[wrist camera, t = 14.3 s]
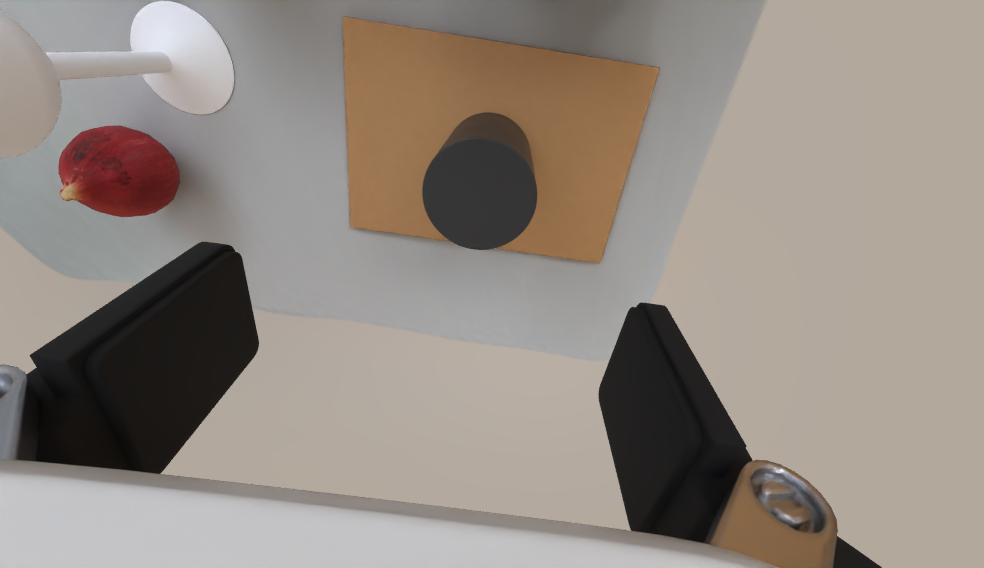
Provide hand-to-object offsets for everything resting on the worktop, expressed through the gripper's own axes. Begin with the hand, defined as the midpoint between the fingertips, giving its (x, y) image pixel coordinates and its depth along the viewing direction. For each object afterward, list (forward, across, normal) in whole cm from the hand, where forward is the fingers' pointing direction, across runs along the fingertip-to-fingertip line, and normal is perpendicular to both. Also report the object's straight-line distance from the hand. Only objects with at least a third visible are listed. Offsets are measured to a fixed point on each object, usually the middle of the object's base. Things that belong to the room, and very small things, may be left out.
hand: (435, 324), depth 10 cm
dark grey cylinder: (+21, 0, +1) cm, 21 cm away
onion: (+22, +24, +5) cm, 33 cm away
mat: (+22, 0, +1) cm, 22 cm away
